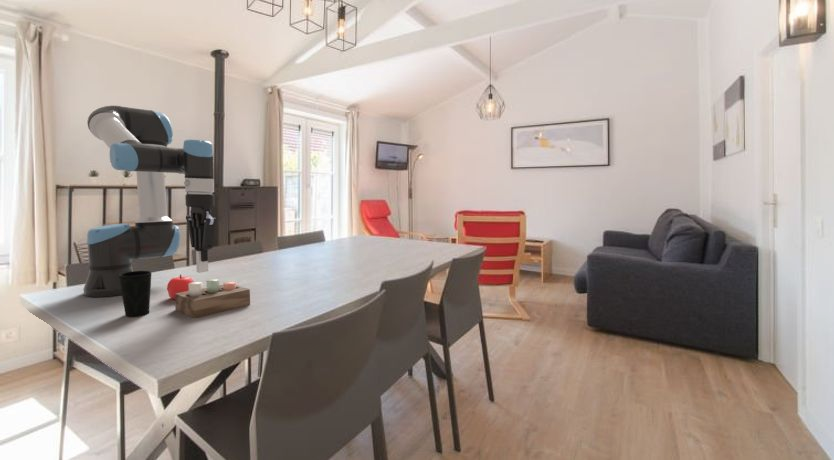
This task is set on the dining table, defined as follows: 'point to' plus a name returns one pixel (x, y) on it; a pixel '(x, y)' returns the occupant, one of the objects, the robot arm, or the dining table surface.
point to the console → (212, 301)
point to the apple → (178, 285)
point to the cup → (136, 292)
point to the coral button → (229, 286)
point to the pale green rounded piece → (213, 286)
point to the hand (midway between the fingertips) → (202, 271)
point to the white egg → (195, 289)
